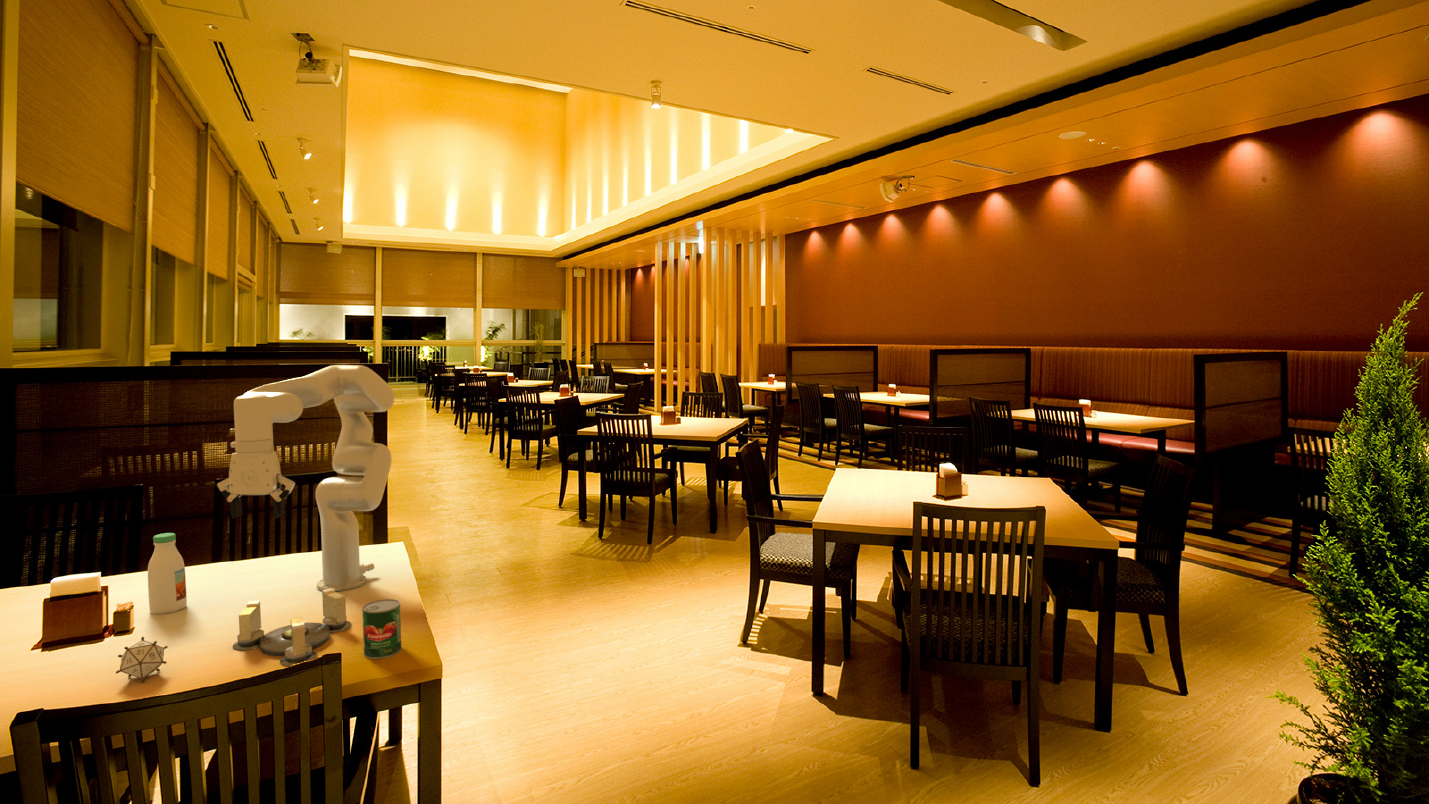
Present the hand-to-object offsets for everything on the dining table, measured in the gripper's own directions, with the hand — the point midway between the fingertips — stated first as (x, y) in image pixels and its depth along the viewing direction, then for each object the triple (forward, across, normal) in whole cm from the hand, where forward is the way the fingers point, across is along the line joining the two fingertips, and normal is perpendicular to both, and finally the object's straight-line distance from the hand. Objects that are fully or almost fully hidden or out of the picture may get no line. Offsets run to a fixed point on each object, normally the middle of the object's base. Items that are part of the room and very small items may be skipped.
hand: (257, 516), depth 168 cm
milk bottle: (+28, -32, +15) cm, 45 cm away
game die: (+28, -11, -24) cm, 39 cm away
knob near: (+28, +17, +1) cm, 33 cm away
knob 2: (+28, +17, -16) cm, 37 cm away
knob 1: (+28, +2, -8) cm, 29 cm away
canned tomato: (+28, +34, -14) cm, 46 cm away
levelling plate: (+28, +13, -6) cm, 32 cm away
